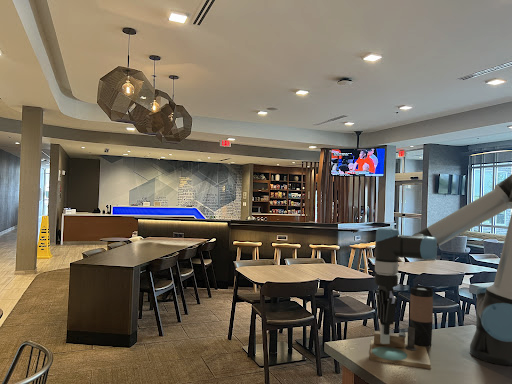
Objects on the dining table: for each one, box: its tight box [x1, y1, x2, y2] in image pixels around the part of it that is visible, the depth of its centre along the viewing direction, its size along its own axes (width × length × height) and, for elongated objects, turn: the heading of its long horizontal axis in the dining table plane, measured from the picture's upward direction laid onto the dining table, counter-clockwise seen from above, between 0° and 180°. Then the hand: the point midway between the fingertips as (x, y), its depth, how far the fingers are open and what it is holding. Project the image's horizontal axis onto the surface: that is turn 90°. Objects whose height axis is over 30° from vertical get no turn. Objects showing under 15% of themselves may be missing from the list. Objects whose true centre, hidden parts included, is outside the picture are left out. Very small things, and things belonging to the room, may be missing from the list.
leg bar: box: [373, 330, 407, 348], centre depth 137 cm, size 10×3×4 cm, turn 71°
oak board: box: [369, 326, 432, 370], centre depth 132 cm, size 18×16×8 cm
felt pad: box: [372, 347, 407, 360], centre depth 130 cm, size 11×11×1 cm
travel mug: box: [409, 285, 434, 348], centre depth 144 cm, size 8×8×20 cm
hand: (384, 343), depth 135 cm, fingers closed
